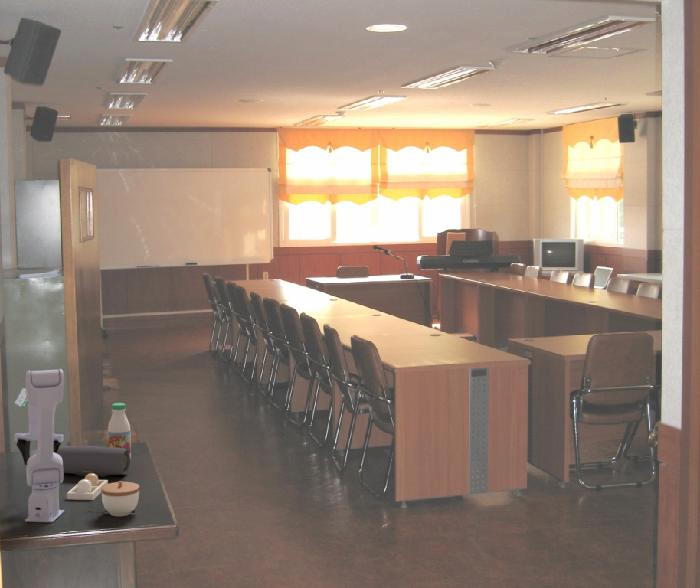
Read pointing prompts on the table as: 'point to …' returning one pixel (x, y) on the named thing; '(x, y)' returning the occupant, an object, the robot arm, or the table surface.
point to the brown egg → (92, 479)
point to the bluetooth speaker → (94, 460)
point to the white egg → (84, 486)
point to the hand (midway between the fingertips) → (39, 464)
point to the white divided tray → (86, 496)
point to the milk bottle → (119, 428)
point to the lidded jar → (120, 497)
